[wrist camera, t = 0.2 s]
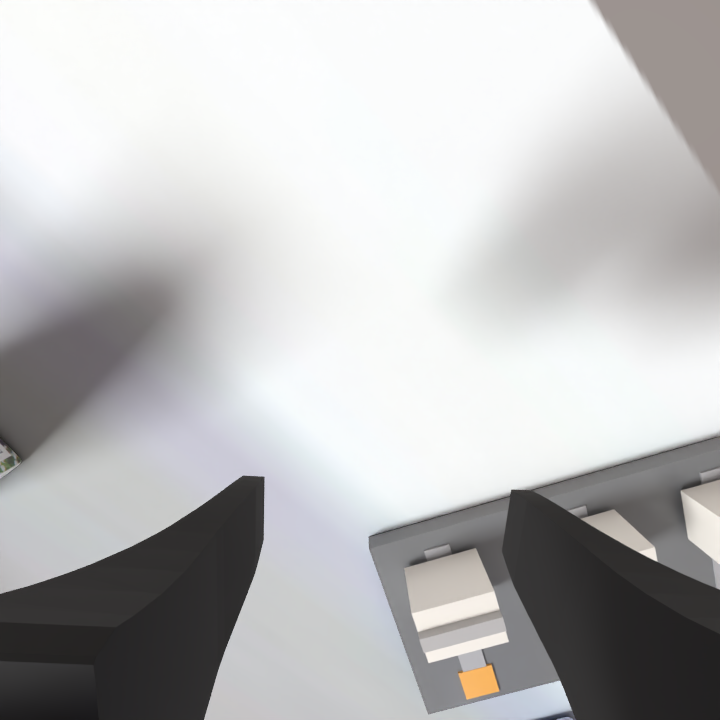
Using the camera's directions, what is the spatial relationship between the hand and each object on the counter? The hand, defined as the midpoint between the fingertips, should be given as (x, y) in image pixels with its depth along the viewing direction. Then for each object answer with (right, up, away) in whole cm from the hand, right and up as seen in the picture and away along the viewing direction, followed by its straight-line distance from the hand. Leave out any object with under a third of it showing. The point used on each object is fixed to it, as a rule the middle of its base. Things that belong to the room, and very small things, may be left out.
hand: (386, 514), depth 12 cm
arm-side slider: (+4, -8, +11) cm, 14 cm away
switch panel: (+12, -8, +12) cm, 19 cm away
